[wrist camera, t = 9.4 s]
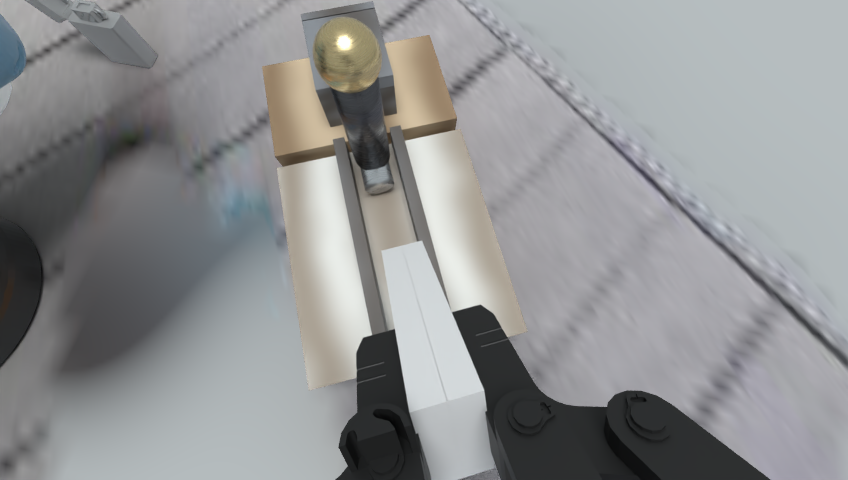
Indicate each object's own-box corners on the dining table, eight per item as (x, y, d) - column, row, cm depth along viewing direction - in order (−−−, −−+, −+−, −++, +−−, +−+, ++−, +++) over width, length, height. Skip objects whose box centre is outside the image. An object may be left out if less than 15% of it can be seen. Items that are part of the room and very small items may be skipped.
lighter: (158, 54, 33) (80, -33, 26) (150, 68, 33) (68, -17, 25) (90, 41, 34) (-8, -49, 26) (81, 55, 33) (-21, -33, 25)
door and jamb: (326, 384, 25) (283, 400, 17) (281, 100, 32) (237, 22, 24) (511, 334, 26) (550, 328, 18) (428, 71, 33) (430, -13, 25)
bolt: (360, 197, 24) (310, 73, 13) (331, 63, 28) (272, -123, 17) (402, 188, 24) (387, 58, 13) (368, 56, 28) (334, -132, 17)
